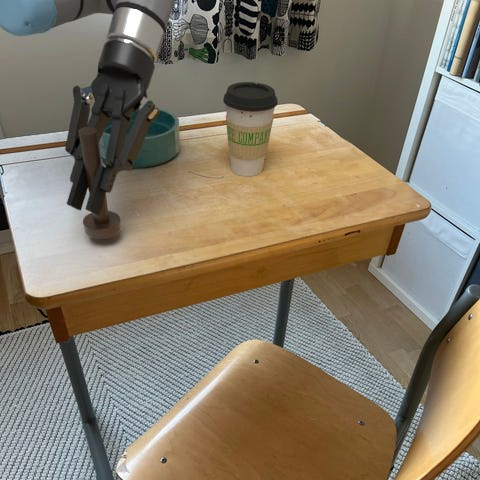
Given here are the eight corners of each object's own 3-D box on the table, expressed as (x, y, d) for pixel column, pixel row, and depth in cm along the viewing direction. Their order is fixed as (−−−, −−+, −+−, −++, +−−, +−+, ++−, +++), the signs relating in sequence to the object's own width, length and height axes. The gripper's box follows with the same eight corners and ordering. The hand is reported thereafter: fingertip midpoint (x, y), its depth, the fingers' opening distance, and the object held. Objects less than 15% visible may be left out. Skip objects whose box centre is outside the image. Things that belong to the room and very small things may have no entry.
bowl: (80, 154, 102) (74, 125, 98) (133, 127, 113) (131, 100, 109) (145, 177, 97) (143, 147, 92) (195, 147, 107) (195, 118, 103)
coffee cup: (214, 175, 98) (215, 94, 88) (231, 154, 105) (233, 77, 95) (263, 184, 96) (270, 103, 86) (277, 163, 103) (284, 85, 93)
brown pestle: (76, 231, 79) (57, 132, 68) (101, 215, 83) (86, 118, 72) (104, 243, 77) (88, 142, 66) (128, 226, 81) (117, 128, 70)
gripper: (187, 76, 76) (141, 229, 75) (96, 59, 79) (52, 205, 79) (169, 46, 68) (118, 214, 68) (70, 29, 72) (21, 189, 72)
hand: (83, 209), depth 73 cm, fingers closed on brown pestle, 2 cm apart
